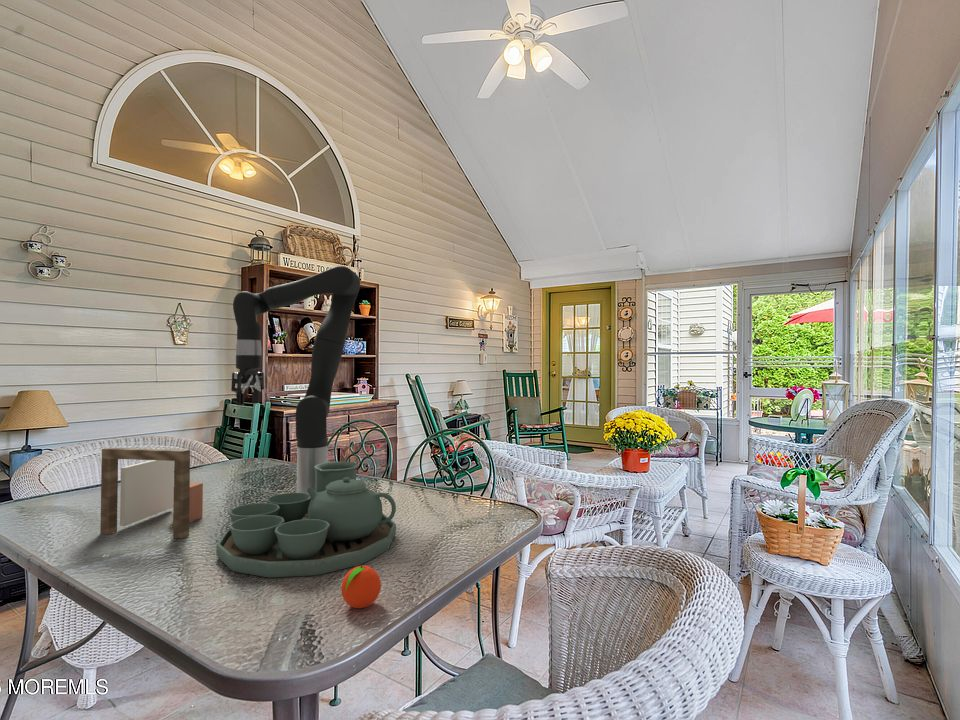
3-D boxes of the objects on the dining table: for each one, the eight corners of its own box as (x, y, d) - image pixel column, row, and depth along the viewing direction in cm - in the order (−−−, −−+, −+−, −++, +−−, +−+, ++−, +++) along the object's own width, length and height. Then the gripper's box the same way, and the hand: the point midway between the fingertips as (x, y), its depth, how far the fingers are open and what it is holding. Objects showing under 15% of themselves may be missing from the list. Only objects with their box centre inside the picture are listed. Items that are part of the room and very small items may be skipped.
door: (165, 507, 146) (166, 455, 146) (173, 507, 146) (174, 456, 146) (115, 525, 129) (116, 467, 129) (124, 526, 128) (125, 467, 129)
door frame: (188, 535, 125) (190, 449, 125) (182, 538, 123) (183, 451, 123) (108, 530, 128) (109, 447, 128) (100, 534, 125) (101, 448, 126)
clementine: (362, 622, 83) (363, 579, 83) (328, 614, 86) (329, 572, 86) (388, 601, 91) (388, 561, 91) (356, 594, 93) (356, 556, 93)
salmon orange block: (202, 516, 140) (202, 483, 140) (190, 522, 135) (190, 487, 135) (185, 516, 141) (186, 482, 141) (173, 521, 136) (173, 486, 136)
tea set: (225, 530, 130) (226, 466, 130) (379, 513, 145) (379, 457, 145) (205, 594, 93) (206, 506, 93) (413, 564, 108) (414, 488, 109)
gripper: (246, 353, 153) (246, 406, 153) (271, 354, 167) (271, 403, 167) (224, 353, 154) (223, 406, 154) (250, 354, 168) (250, 402, 168)
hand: (248, 404), depth 161 cm, fingers open, 8 cm apart
